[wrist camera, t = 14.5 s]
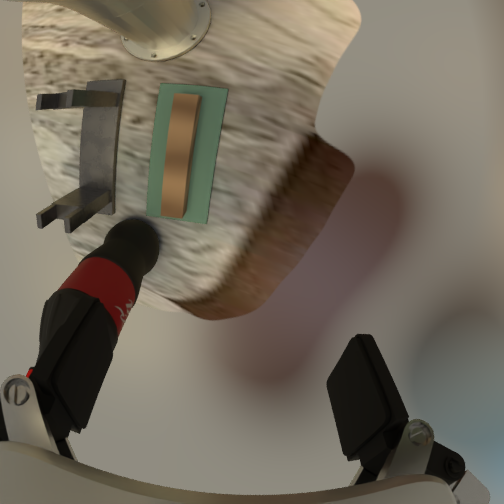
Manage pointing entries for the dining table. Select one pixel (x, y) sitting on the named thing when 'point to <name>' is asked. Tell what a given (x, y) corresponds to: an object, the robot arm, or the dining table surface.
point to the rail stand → (89, 152)
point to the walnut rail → (179, 154)
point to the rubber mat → (202, 153)
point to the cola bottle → (105, 280)
